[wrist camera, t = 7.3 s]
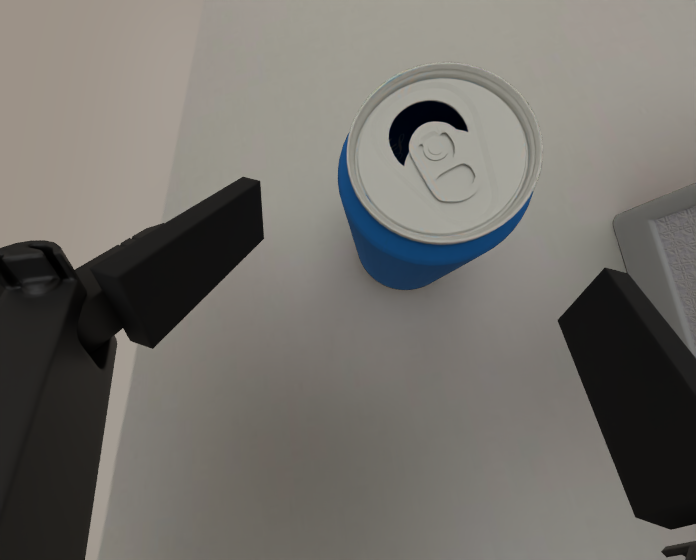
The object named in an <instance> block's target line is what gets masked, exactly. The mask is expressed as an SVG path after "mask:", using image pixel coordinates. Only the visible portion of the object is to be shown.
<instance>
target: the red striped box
mask: <svg viewBox="0 0 696 560" xmlns="http://www.w3.org/2000/svg"><path fill="white" fill-rule="evenodd" d="M613 226H614V230H615V233H616V236H617V239H618V243H619V246H620V249H621V253H622V256H623V259H624V262H625V266H626V269H627V272H628V274H629V275H630V276H631V277H632V279H633V280H634V281H635V282H636V284H637V285H638V286H639V287H640V289H641V290H642V291H643V293H644V294H645V295H646V296H647V298H648V299H649V300H650V301H651V303H652V304H653V305H654V306H655V308H656V309H657V310H658V311H659V313H660V314H661V315H662V316H663V318H664V319H665V320H666V321H667V323H668V324H669V325H670V326H671V328H672V329H673V330H674V331H675V333H676V334H677V335H678V336H679V338H680V339H681V340H682V341H683V343H684V344H685V345H686V346H687V348H688V349H689V350H690V351H691V353H692V354H693V355H694V356H695V358H696V183H694V184H691V185H689V186H686V187H684V188H681V189H679V190H677V191H674V192H672V193H669V194H667V195H664V196H662V197H659V198H657V199H655V200H652V201H650V202H647V203H645V204H642V205H640V206H637V207H635V208H633V209H630V210H628V211H625V212H623V213H620V214H618V215H617V216H616V217H615V219H614V221H613Z"/></svg>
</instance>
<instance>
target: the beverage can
mask: <svg viewBox="0 0 696 560" xmlns="http://www.w3.org/2000/svg"><path fill="white" fill-rule="evenodd" d="M542 158H543V144H542V136H541V132H540V128H539V124H538V122H537V119H536V117H535V114H534V113H533V111H532V109H531V107H530V106H529V104H528V103H527V101H526V100H525V99H524V98H523V96H522V95H521V94H520V93H519V92H518V91H517V90H516V89H515V88H514V87H513V86H512V85H511V84H509V83H508V82H507V81H505V80H504V79H503V78H501V77H499V76H497V75H496V74H494V73H492V72H490V71H487V70H485V69H482V68H480V67H476V66H473V65H469V64H463V63H456V62H438V63H429V64H424V65H419V66H416V67H413V68H410V69H407V70H405V71H403V72H401V73H399V74H396V75H395V76H393V77H392V78H390V79H388V80H387V81H385V82H384V83H383V84H381V85H380V86H379V87H378V88H377V89H376V90H375V91H374V92H373V93H372V94H371V95H370V96H369V97H368V98H367V99H366V101H365V102H364V103H363V105H362V106H361V107H360V109H359V111H358V113H357V114H356V116H355V119H354V121H353V123H352V126H351V129H350V132H349V134H348V135H347V138H346V140H345V142H344V145H343V148H342V151H341V155H340V159H339V167H338V185H339V193H340V197H341V200H342V204H343V207H344V210H345V213H346V217H347V220H348V223H349V226H350V229H351V232H352V236H353V239H354V242H355V245H356V248H357V252H358V255H359V258H360V260H361V263H362V265H363V266H364V268H365V270H366V271H367V272H368V273H369V274H370V275H371V276H372V277H373V278H374V279H375V280H377V281H378V282H379V283H381V284H383V285H385V286H388V287H390V288H394V289H400V290H411V289H417V288H421V287H424V286H426V285H428V284H430V283H432V282H434V281H435V280H437V279H439V278H441V277H443V276H444V275H446V274H448V273H450V272H452V271H453V270H455V269H457V268H459V267H461V266H462V265H464V264H466V263H468V262H470V261H471V260H473V259H475V258H477V257H479V256H480V255H482V254H484V253H486V252H487V251H489V250H491V249H492V248H494V247H495V246H496V245H498V244H499V243H500V242H502V241H503V240H504V239H505V238H506V237H507V236H508V235H509V234H510V233H511V232H512V231H513V230H514V228H515V227H516V226H517V224H518V223H519V221H520V220H521V218H522V217H523V215H524V213H525V211H526V209H527V207H528V205H529V202H530V199H531V197H532V193H533V190H534V188H535V186H536V183H537V180H538V178H539V175H540V171H541V166H542Z"/></svg>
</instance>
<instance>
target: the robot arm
mask: <svg viewBox="0 0 696 560" xmlns="http://www.w3.org/2000/svg"><path fill="white" fill-rule="evenodd" d="M263 239H264V233H263V218H262V203H261V187H260V181H258V180H254V179H250V178H246V177H242V178H240V179H238V180H237V181H235V182H233V183H232V184H230V185H228V186H227V187H225V188H223V189H222V190H220V191H218V192H217V193H215V194H213V195H212V196H210V197H208V198H207V199H205V200H203V201H202V202H200V203H198V204H196V205H195V206H193V207H191V208H190V209H188V210H186V211H185V212H183V213H181V214H180V215H178V216H176V217H175V218H173V219H171V220H170V221H168V222H166V223H162V224H159V225H156V226H153V227H150V228H146V229H145V230H143V231H141V232H139V233H138V234H136V235H134V236H133V237H132V239H130V238H129V239H127V240H125V241H124V242H122V243H121V245H117V246H115V247H113V248H112V249H110V250H108V251H106V252H105V253H103V254H101V255H99V256H98V257H96V258H94V259H93V260H91V261H89V262H88V263H86V264H84V265H83V266H81V267H79V268H77V269H76V270H74V269H73V267H72V266H71V264H70V262H69V261H68V259H67V257H66V256H65V254H64V253H63V251H62V249H61V247H60V246H58V245H57V244H56V243H54V242H49V241H27V242H20V243H15V244H12V245H9V246H6V247H2V248H0V560H85V555H86V548H87V542H88V535H89V528H90V522H91V515H92V508H93V502H94V494H95V488H96V482H97V475H98V468H99V462H100V455H101V448H102V441H103V435H104V428H105V422H106V415H107V408H108V401H109V395H110V388H111V381H112V374H113V368H114V361H115V355H116V348H117V341H116V338H115V336H114V335H115V334H116V333H117V332H119V331H120V330H121V329H122V328H123V329H124V330H125V332H126V334H127V336H128V337H129V339H130V341H132V342H135V343H138V344H141V345H144V346H147V347H149V348H152V349H153V348H154V347H155V346H156V345H157V344H158V343H159V342H160V341H161V340H162V339H163V338H164V337H165V336H166V335H167V334H168V333H169V332H170V331H171V330H172V329H173V328H174V327H175V326H176V325H177V324H178V323H179V322H180V321H181V320H182V319H183V318H184V317H185V316H186V315H187V314H188V313H189V312H190V311H191V310H192V309H193V308H194V307H195V306H196V305H197V304H198V303H199V302H200V301H201V300H202V299H203V298H204V297H205V296H207V295H208V294H209V293H210V292H211V291H212V290H213V289H214V288H215V287H216V286H217V285H218V284H219V283H220V282H221V281H222V280H223V279H224V278H225V277H226V276H227V275H228V274H229V273H230V272H231V271H232V270H233V269H234V268H235V267H236V266H237V265H238V264H239V263H240V262H241V261H242V260H243V259H244V258H245V257H246V256H247V255H248V254H249V253H250V252H251V251H252V250H253V249H254V248H255V247H256V246H257V245H258V244H259V243H260V242H261V241H262V240H263ZM558 323H559V325H560V328H561V330H562V333H563V335H564V338H565V340H566V343H567V345H568V348H569V350H570V353H571V355H572V358H573V361H574V363H575V366H576V368H577V371H578V373H579V376H580V378H581V381H582V383H583V386H584V388H585V391H586V393H587V396H588V399H589V401H590V404H591V406H592V409H593V411H594V414H595V416H596V419H597V421H598V424H599V426H600V429H601V431H602V434H603V436H604V439H605V442H606V444H607V447H608V449H609V452H610V454H611V457H612V459H613V462H614V464H615V467H616V469H617V472H618V474H619V477H620V480H621V482H622V485H623V487H624V490H625V492H626V495H627V497H628V500H629V502H630V505H631V507H632V510H633V512H634V515H635V517H636V518H639V519H642V520H645V521H648V522H650V523H653V524H656V525H659V526H662V527H665V528H668V529H671V530H672V529H676V528H680V527H684V526H688V525H692V524H696V358H695V356H694V355H693V354H692V353H691V351H690V350H689V349H688V348H687V346H686V345H685V344H684V343H683V341H682V340H681V339H680V338H679V336H678V335H677V334H676V333H675V331H674V330H673V329H672V328H671V326H670V325H669V324H668V323H667V321H666V320H665V319H664V318H663V316H662V315H661V314H660V313H659V311H658V310H657V309H656V308H655V306H654V305H653V304H652V303H651V301H650V300H649V299H648V298H647V296H646V295H645V294H644V293H643V291H642V290H641V289H640V287H639V286H638V285H637V284H636V282H635V281H634V280H633V279H632V277H631V276H630V275H629V274H628V273H624V272H620V271H616V270H612V269H608V268H604V269H603V270H602V271H601V272H600V274H599V275H598V276H597V277H596V278H595V279H594V280H593V281H592V282H591V284H590V285H589V286H588V287H587V288H586V289H585V290H584V291H583V293H582V294H581V295H580V296H579V297H578V298H577V299H576V300H575V301H574V303H573V304H572V305H571V306H570V307H569V308H568V309H567V310H566V312H565V313H564V314H563V315H562V316H561V317H560V318H559V319H558ZM661 552H662V553H663V554H664V555H665V556H666V557H671V556H677V555H683V556H685V557H686V559H685V560H696V541H693V542H688V543H683V544H677V545H672V546H667V547H665V548H664V549H663V550H662V551H661Z"/></svg>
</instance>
